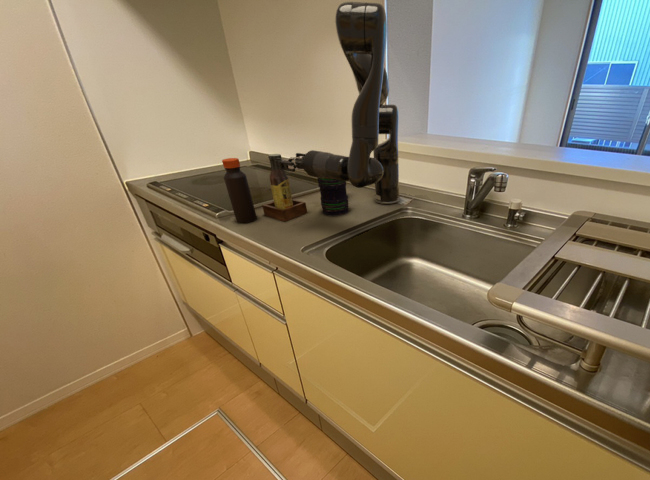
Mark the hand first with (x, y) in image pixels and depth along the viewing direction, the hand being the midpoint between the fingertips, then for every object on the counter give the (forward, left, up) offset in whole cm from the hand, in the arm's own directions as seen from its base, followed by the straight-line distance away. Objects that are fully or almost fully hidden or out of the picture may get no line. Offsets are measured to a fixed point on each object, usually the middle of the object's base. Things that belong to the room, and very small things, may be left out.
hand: (286, 159), depth 110 cm
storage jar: (-10, +10, -20) cm, 24 cm away
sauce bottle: (-1, -6, -19) cm, 20 cm away
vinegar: (+7, -16, -20) cm, 26 cm away
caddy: (-2, -6, -20) cm, 20 cm away
